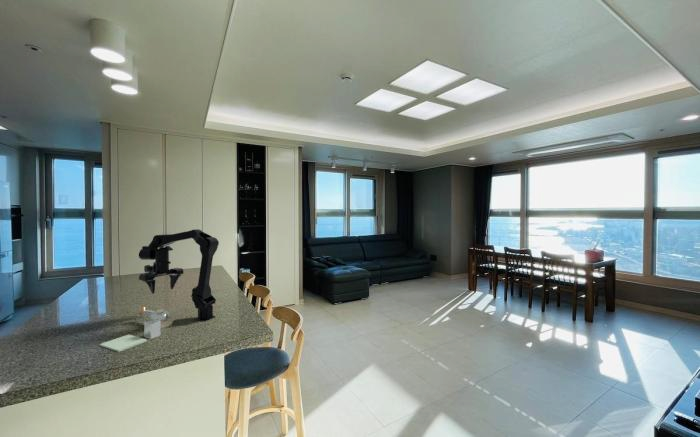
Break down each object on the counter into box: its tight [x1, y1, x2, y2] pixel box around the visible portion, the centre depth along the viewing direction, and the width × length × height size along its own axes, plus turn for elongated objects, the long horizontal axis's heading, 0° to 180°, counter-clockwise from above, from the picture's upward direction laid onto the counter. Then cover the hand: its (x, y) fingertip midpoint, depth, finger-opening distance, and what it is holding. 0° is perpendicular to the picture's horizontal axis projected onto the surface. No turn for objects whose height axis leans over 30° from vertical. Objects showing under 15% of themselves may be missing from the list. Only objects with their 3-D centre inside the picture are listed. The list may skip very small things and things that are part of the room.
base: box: [148, 316, 174, 329], centre depth 132 cm, size 10×10×2 cm
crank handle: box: [138, 306, 170, 322], centre depth 134 cm, size 17×7×5 cm, turn 67°
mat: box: [99, 333, 148, 353], centre depth 113 cm, size 12×10×1 cm
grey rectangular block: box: [143, 319, 162, 340], centre depth 121 cm, size 4×4×6 cm
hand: (162, 291), depth 144 cm, fingers open, 9 cm apart
